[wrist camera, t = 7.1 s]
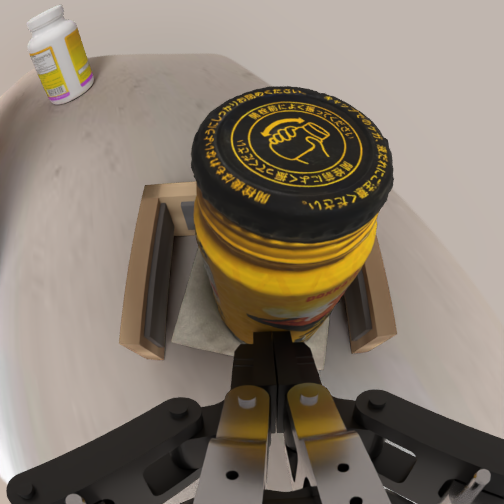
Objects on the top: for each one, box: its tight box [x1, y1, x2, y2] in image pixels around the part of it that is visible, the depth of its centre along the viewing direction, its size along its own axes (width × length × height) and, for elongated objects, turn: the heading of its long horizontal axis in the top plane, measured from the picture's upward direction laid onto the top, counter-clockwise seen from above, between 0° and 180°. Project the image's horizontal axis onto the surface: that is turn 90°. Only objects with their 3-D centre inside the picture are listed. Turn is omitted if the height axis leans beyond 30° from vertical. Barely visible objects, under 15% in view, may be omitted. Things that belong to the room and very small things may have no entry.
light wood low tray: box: [119, 182, 397, 360], centre depth 16 cm, size 12×9×4 cm
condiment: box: [171, 86, 394, 370], centre depth 12 cm, size 7×8×12 cm
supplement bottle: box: [27, 5, 94, 104], centre depth 25 cm, size 7×7×13 cm
